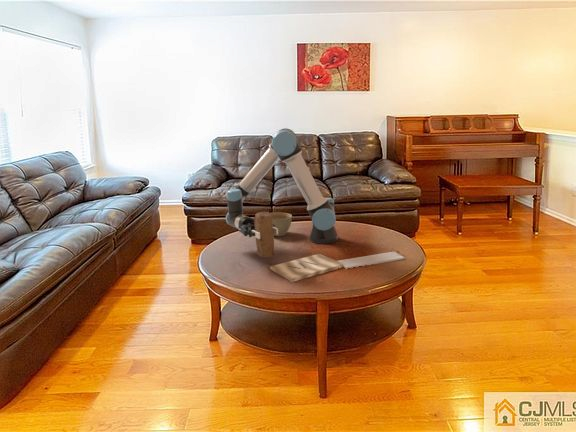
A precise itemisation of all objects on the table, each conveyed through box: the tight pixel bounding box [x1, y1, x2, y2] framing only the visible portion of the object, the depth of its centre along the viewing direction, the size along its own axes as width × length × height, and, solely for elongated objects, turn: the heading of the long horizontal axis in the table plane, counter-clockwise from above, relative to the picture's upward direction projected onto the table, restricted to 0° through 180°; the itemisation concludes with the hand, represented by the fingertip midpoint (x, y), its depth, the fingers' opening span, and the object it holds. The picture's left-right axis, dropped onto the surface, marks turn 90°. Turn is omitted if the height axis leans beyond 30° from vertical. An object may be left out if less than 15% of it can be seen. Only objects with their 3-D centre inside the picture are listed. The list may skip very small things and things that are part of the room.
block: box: [254, 211, 275, 258], centre depth 215 cm, size 11×8×20 cm
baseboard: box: [336, 249, 405, 270], centre depth 219 cm, size 31×3×12 cm
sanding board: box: [269, 253, 343, 283], centre depth 211 cm, size 28×18×2 cm, turn 123°
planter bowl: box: [269, 212, 293, 237], centre depth 262 cm, size 16×16×11 cm
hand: (268, 233), depth 211 cm, fingers closed on block, 9 cm apart
